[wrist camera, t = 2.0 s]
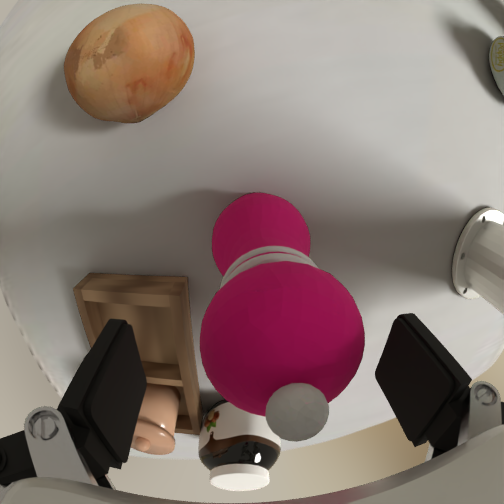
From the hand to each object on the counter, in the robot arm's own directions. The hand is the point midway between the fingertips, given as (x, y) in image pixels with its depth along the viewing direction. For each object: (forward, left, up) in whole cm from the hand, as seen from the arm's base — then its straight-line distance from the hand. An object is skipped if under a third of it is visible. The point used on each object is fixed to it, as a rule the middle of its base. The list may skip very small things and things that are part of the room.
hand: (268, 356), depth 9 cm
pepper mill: (-1, 0, -17) cm, 17 cm away
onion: (+9, -14, -17) cm, 24 cm away
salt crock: (+11, +21, -16) cm, 29 cm away
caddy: (+11, +16, -17) cm, 26 cm away
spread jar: (0, +28, -17) cm, 33 cm away
